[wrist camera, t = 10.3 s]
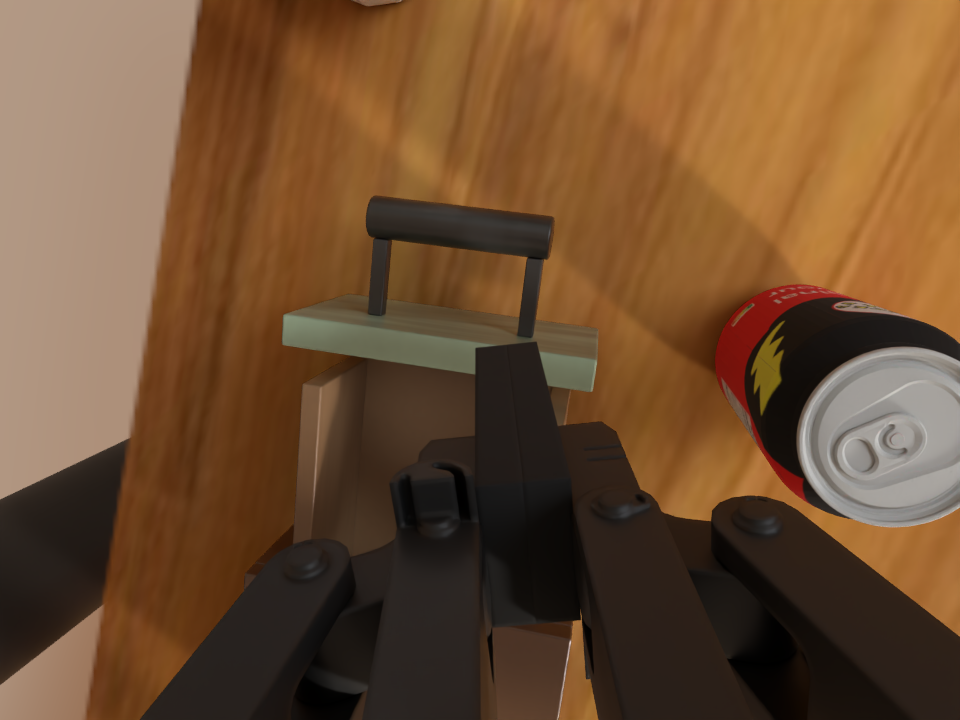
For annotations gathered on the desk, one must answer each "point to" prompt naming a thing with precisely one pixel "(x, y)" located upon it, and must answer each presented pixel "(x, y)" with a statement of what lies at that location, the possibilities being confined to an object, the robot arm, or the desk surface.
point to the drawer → (412, 367)
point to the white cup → (376, 2)
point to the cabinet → (506, 659)
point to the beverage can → (847, 403)
